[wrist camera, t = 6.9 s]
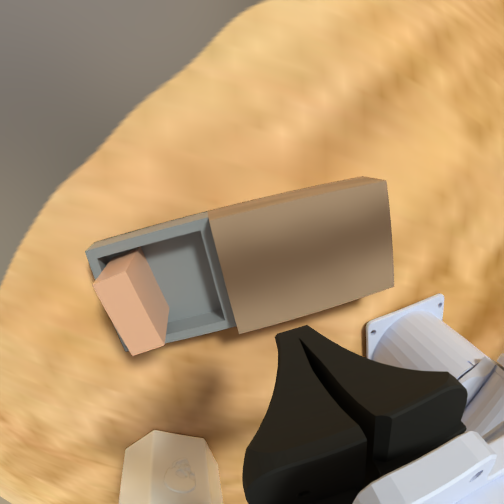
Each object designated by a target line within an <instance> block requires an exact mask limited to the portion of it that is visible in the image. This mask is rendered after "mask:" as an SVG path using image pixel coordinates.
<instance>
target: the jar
mask: <svg viewBox="0 0 504 504" xmlns="http://www.w3.org/2000/svg"><path fill="white" fill-rule="evenodd" d="M119 504H223V498H222V491H221V484H220V476H219V469H218V463H217V462H216V460H215V458H214V456H213V454H212V452H211V450H210V448H209V447H208V445H207V443H206V441H205V439H204V438H200V437H193V436H187V435H180V434H175V433H169V432H164V431H159V430H153V431H151V432H150V433H148V434H147V435H146V436H144V437H143V438H141V439H140V440H138V441H137V442H135V443H134V444H132V445H131V446H129V447H128V448H126V450H125V456H124V463H123V471H122V479H121V487H120V496H119Z"/></svg>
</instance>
